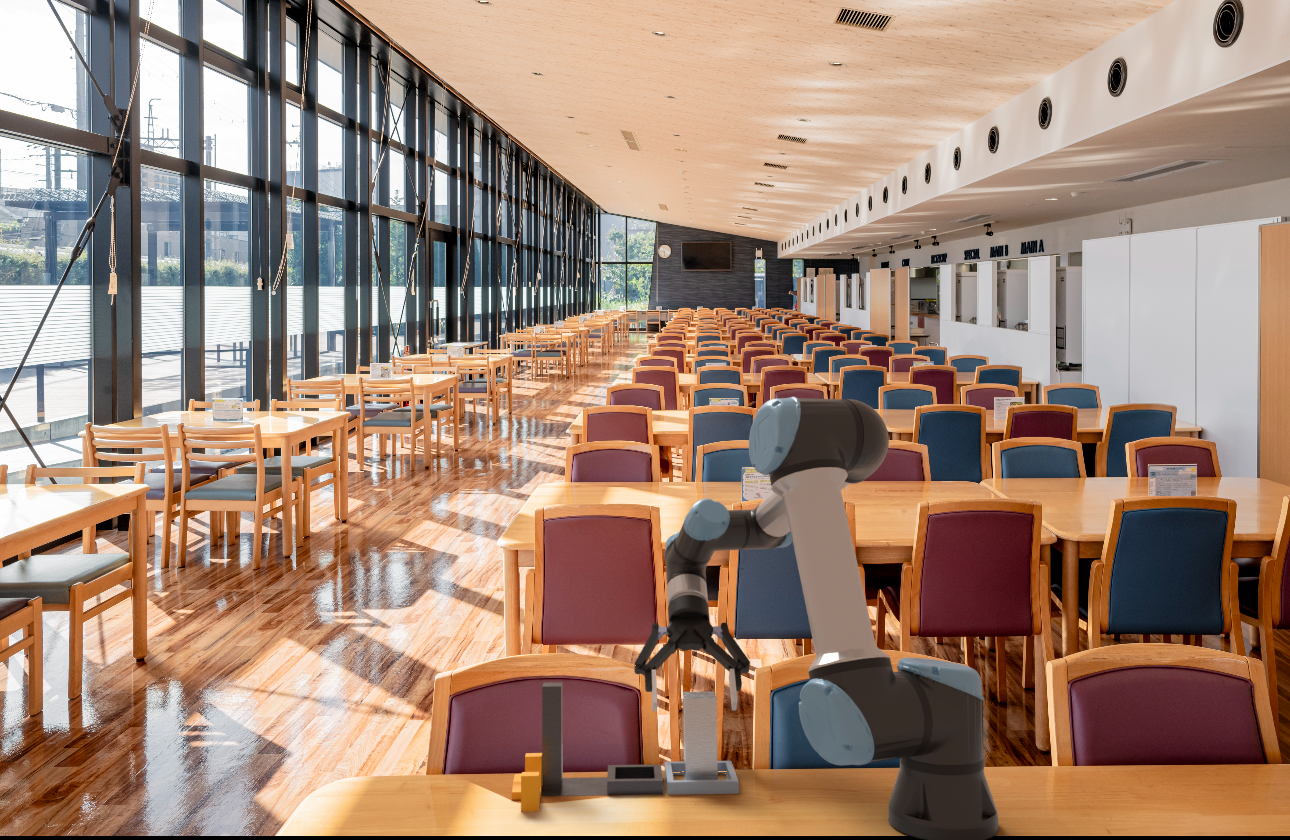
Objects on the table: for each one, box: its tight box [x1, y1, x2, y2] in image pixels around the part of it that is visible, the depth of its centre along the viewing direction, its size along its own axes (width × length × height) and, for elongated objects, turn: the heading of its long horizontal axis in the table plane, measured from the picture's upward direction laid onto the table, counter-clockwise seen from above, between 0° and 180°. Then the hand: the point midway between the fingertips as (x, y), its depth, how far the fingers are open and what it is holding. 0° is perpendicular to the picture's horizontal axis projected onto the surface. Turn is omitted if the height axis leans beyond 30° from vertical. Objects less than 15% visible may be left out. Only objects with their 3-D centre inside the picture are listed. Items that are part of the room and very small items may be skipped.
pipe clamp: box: [511, 752, 542, 813], centre depth 155 cm, size 12×4×6 cm, turn 3°
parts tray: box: [664, 760, 740, 796], centre depth 161 cm, size 11×11×3 cm
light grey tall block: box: [682, 691, 719, 780], centre depth 162 cm, size 5×5×14 cm
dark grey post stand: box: [541, 681, 665, 797], centre depth 160 cm, size 19×9×17 cm, turn 91°
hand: (694, 706), depth 172 cm, fingers open, 13 cm apart
